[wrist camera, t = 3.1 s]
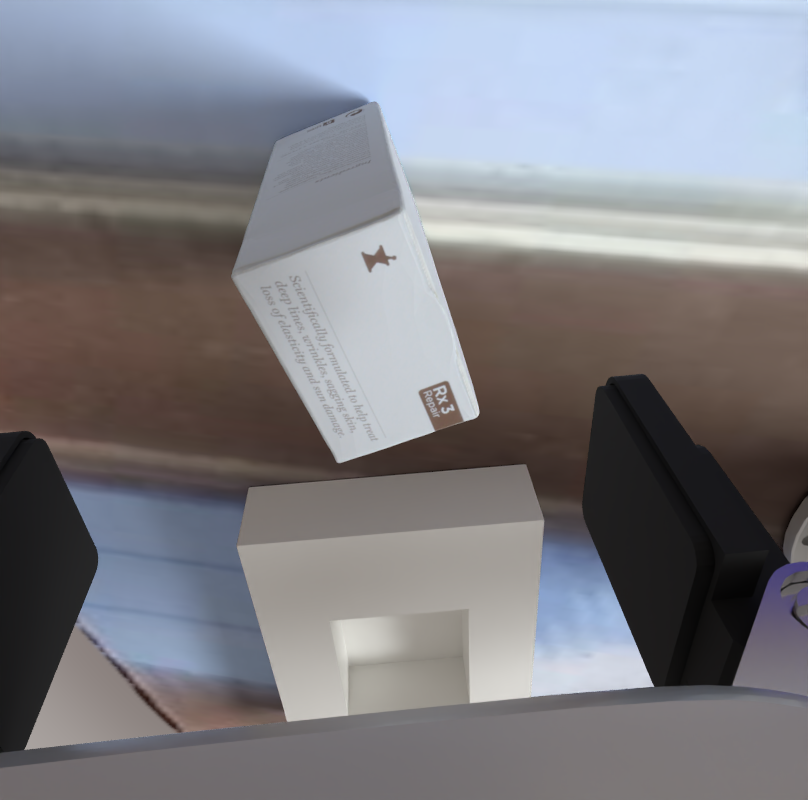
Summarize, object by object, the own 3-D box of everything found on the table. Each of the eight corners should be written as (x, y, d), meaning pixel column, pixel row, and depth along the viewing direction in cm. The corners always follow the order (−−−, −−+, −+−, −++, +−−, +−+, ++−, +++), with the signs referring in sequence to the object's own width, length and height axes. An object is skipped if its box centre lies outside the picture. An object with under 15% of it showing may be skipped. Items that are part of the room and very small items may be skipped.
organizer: (526, 464, 33) (544, 519, 30) (513, 693, 44) (526, 753, 41) (248, 487, 33) (236, 546, 30) (306, 712, 44) (302, 773, 41)
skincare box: (269, 141, 24) (205, 270, 14) (384, 93, 23) (402, 194, 13) (337, 286, 27) (323, 475, 17) (438, 248, 27) (486, 422, 17)
